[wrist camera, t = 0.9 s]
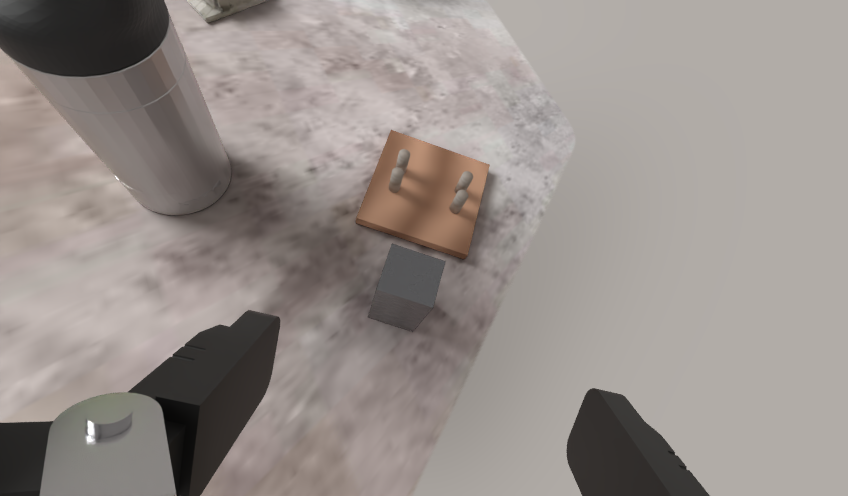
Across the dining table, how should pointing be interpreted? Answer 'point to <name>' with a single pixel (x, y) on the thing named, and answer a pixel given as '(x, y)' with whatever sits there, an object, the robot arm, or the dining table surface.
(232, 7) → the packaged product
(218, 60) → the dining table surface
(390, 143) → the wooden peg holder
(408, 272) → the block
